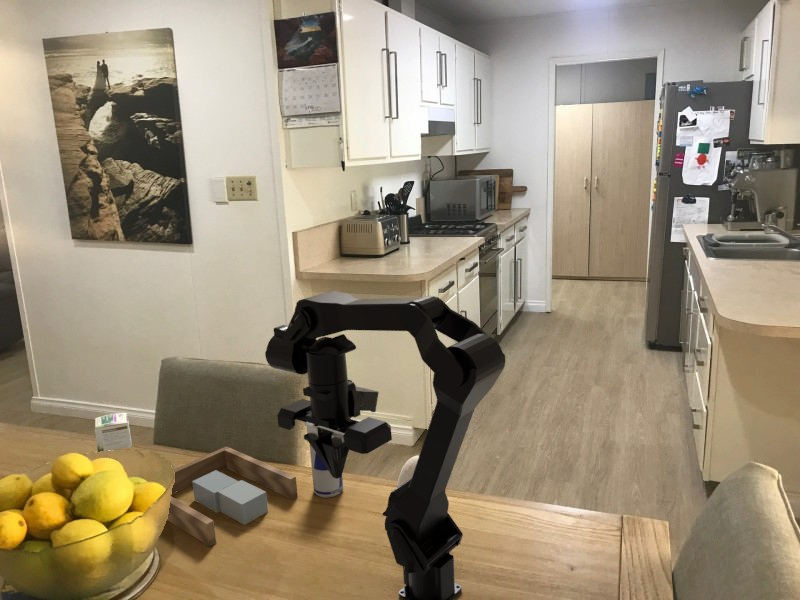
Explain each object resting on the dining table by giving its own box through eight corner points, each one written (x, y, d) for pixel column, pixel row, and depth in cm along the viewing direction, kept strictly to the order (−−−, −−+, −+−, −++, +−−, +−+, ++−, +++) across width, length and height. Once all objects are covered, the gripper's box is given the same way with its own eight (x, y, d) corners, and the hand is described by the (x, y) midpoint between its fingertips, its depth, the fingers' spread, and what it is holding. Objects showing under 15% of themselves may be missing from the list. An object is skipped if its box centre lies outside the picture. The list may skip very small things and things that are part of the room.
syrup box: (104, 488, 124) (92, 417, 121) (137, 480, 126) (126, 410, 123) (105, 502, 119) (92, 428, 115) (139, 493, 121) (128, 421, 118)
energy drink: (338, 499, 116) (333, 437, 113) (309, 497, 117) (304, 435, 114) (346, 484, 121) (342, 424, 118) (319, 482, 122) (314, 423, 119)
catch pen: (297, 496, 117) (295, 476, 116) (209, 546, 104) (206, 524, 103) (228, 464, 131) (226, 446, 130) (142, 504, 117) (139, 484, 116)
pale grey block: (240, 501, 117) (238, 481, 116) (217, 513, 114) (214, 493, 113) (218, 489, 122) (215, 470, 121) (194, 501, 118) (192, 481, 117)
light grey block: (268, 512, 113) (266, 491, 112) (244, 525, 110) (242, 504, 109) (243, 499, 118) (241, 479, 117) (220, 512, 114) (217, 491, 113)
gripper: (412, 373, 95) (419, 471, 98) (323, 354, 107) (332, 443, 110) (360, 397, 86) (369, 504, 90) (270, 374, 98) (281, 469, 102)
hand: (337, 477), depth 98 cm, fingers closed
